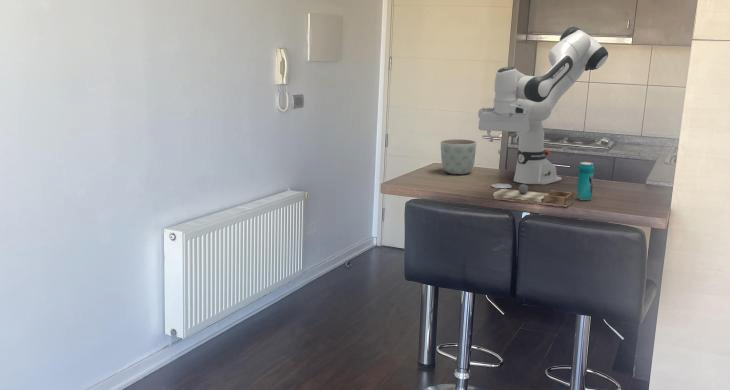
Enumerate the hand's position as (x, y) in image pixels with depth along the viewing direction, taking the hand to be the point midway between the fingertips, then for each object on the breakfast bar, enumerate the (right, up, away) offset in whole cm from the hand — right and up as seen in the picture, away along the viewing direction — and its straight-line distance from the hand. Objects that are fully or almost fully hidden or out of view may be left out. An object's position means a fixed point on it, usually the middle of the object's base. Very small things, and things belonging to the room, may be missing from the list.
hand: (502, 142), depth 291 cm
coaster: (+4, -18, +23) cm, 30 cm away
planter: (-11, -11, +54) cm, 57 cm away
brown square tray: (+20, -25, -7) cm, 33 cm away
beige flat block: (+7, -23, 0) cm, 24 cm away
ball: (+8, -19, -1) cm, 21 cm away
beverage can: (+33, -24, 0) cm, 41 cm away
